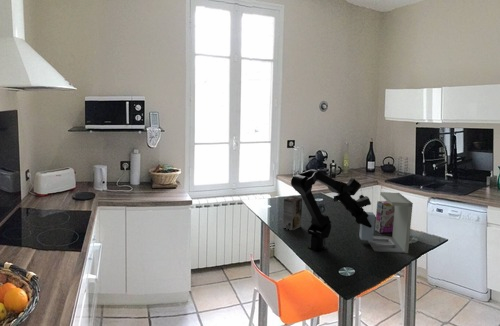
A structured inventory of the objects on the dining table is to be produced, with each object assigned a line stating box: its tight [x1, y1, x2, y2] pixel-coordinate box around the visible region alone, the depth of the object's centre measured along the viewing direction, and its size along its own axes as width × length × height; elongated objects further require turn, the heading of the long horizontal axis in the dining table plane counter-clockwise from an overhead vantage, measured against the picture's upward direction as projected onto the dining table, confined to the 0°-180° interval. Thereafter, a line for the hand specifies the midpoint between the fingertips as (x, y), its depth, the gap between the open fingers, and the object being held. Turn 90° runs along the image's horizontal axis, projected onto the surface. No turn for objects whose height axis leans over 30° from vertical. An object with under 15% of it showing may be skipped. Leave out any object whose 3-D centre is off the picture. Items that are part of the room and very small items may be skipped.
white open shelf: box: [367, 191, 414, 254], centre depth 177 cm, size 15×20×24 cm
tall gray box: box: [358, 211, 376, 241], centre depth 178 cm, size 6×5×12 cm
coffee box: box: [282, 196, 303, 231], centre depth 199 cm, size 9×6×16 cm
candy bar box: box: [374, 200, 395, 234], centre depth 196 cm, size 11×5×16 cm, turn 108°
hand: (369, 225), depth 178 cm, fingers closed on tall gray box, 5 cm apart
